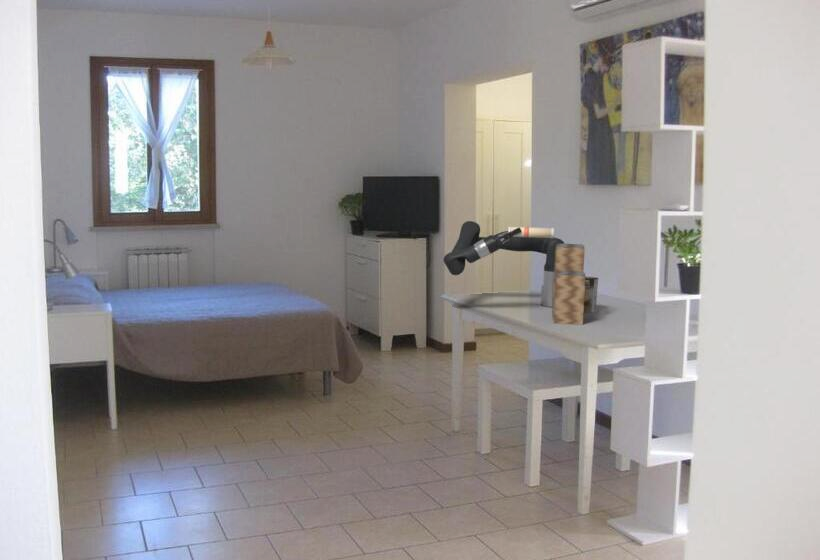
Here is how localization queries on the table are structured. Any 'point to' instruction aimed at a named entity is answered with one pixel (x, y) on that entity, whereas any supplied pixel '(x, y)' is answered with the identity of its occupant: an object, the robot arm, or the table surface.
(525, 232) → the cream long cylinder
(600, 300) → the table surface
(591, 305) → the coffee box
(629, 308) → the table surface
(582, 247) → the stand
